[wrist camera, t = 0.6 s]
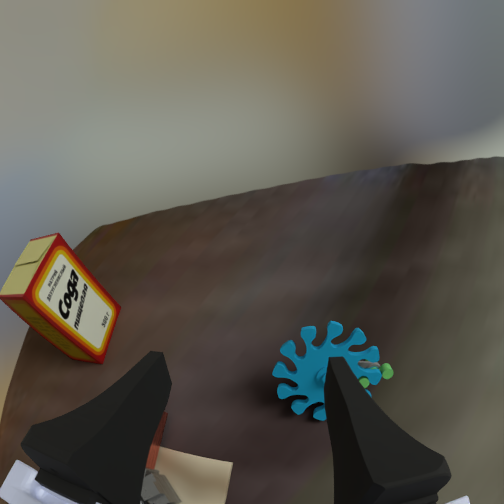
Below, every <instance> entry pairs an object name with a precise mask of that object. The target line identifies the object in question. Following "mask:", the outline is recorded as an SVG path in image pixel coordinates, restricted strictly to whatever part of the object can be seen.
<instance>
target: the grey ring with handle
mask: <svg viewBox="0 0 504 504" xmlns="http://www.w3.org/2000/svg"><path fill="white" fill-rule="evenodd" d="M167 415H168V413H166V412H164V413H163V415H162V418H161V420H160V423H159V425H158V428H157V430H156V433H155V436H154V438H153V441H152V444H151V447H150V451H149V455H148V459H147V464H146V468H145V473H144V478H143V485H142V491H141V496H142V498H143V500H144V501H149V502H150V504H178V503H180V502H182V501H181V500H180V498H179V497H178V495H177V494H176V492H175V491H174V489H173V487H172V486H171V484H170V483H169V481H168V479H167V478H166V476H165V475H161V474H159V471H158V470H155V464H156V460H157V456H158V452H159V448H160V443H161V439H162V435H163V431H164V427H165V423H166V419H167Z"/></svg>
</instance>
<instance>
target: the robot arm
mask: <svg viewBox="0 0 504 504" xmlns="http://www.w3.org/2000/svg"><path fill="white" fill-rule="evenodd" d="M171 385H172V382H171V379H170V375H169V372H168V369H167V365H166V362H165V358H164V355H163V352H155V351H150V352H149V353H148V354H147V355H146V356H145V357H144V358H142V359H141V360H140V361H139V362H138V363H137V364H136V365H135V366H134V367H133V368H132V369H131V370H129V371H128V372H127V373H126V374H125V375H124V376H123V377H122V378H120V379H119V380H118V381H117V382H115V383H114V384H113V385H112V386H111V387H109V388H108V389H107V390H106V391H104V392H103V393H101V394H100V395H99V396H97V397H96V398H94V399H92V400H91V401H89V402H88V403H86V404H84V405H82V406H80V407H79V408H77V409H75V410H73V411H71V412H69V413H67V414H64V415H62V416H60V417H57V418H54V419H52V420H49V421H45V422H42V423H39V424H35V425H32V426H31V428H30V430H29V431H28V433H27V434H26V436H25V437H24V439H23V441H22V442H21V447H22V449H23V450H24V452H25V453H26V454H27V455H28V456H29V457H30V458H31V459H32V460H33V461H34V462H35V463H36V464H37V465H38V466H39V467H40V470H39V472H37V471H36V470H35V469H33V468H31V467H30V466H28V465H26V464H24V463H23V462H21V461H19V460H16V462H15V463H14V465H13V467H12V469H11V470H10V472H9V474H8V476H7V478H6V479H5V481H4V483H3V485H2V487H1V489H0V497H1V498H2V499H4V500H5V501H6V502H8V503H9V504H140V499H141V491H142V485H143V478H144V473H145V468H146V464H147V459H148V455H149V451H150V447H151V444H152V441H153V438H154V436H155V433H156V430H157V428H158V425H159V423H160V420H161V418H162V415H163V413H164V410H165V407H166V405H167V402H168V398H169V394H170V390H171ZM324 404H325V413H326V418H327V424H328V429H329V435H330V440H331V446H332V453H333V465H334V504H436V502H437V501H438V495H437V492H438V491H439V490H440V489H441V488H443V487H444V486H445V485H446V484H447V483H448V481H449V480H450V478H451V472H450V469H449V466H448V464H447V462H446V460H445V458H444V456H442V455H440V454H439V453H437V452H435V451H433V450H431V449H429V448H428V447H426V446H424V445H423V444H421V443H420V442H418V441H417V440H415V439H414V438H413V437H411V436H410V435H409V434H408V433H406V432H405V431H404V430H402V429H401V428H400V427H399V426H398V425H397V424H396V423H394V422H393V421H392V420H391V419H390V418H389V417H388V416H387V415H386V414H385V413H384V412H383V411H382V409H381V408H380V407H379V406H378V405H377V404H376V403H375V401H374V400H373V399H372V398H371V397H370V395H369V394H368V393H367V391H366V390H365V389H364V387H363V386H362V384H361V383H360V382H359V380H358V379H357V377H356V376H355V374H354V373H353V371H352V370H351V368H350V366H349V365H348V363H347V361H346V359H345V358H344V357H343V356H341V357H329V359H328V365H327V372H326V378H325V384H324ZM445 504H470V502H469V498H468V496H464V497H461V498H459V499H456V500H453V501H451V502H448V503H445Z"/></svg>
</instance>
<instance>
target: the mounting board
mask: <svg viewBox="0 0 504 504" xmlns="http://www.w3.org/2000/svg"><path fill="white" fill-rule="evenodd" d="M232 465H233V463H231V462H225V461H219V460H214V459H209V458H204V457H200V456H195V455H191V454H186V453H182V452H178V451H174V450H171V449H167V448H163V447H160V448H159V452H158V456H157V460H156V464H155V470H158V471H159V474H161V475H165V476H166V478H167V479H168V481H169V483H170V484H171V486H172V487H173V489H174V491H175V492H176V494H177V495H178V497H179V498H180V500H181V501H182V502H180V503H178V504H225V501H226V496H227V491H228V486H229V481H230V475H231V470H232Z"/></svg>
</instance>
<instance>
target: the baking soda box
mask: <svg viewBox="0 0 504 504" xmlns="http://www.w3.org/2000/svg"><path fill="white" fill-rule="evenodd" d="M0 299H1V300H2V301H3V302H4V303H5V304H6V305H7V306H8V307H9V308H10V309H11V310H12V311H13V312H15V313H16V314H17V315H18V316H19V317H20V318H21V319H22V320H23V321H25V322H26V323H27V324H28V325H29V326H30V327H32V328H33V329H34V330H35V331H36V332H38V333H39V334H40V335H41V336H42V337H44V338H45V339H46V340H47V341H49V342H50V343H51V344H53V345H54V346H55V347H56V348H58V349H59V350H60V351H62V352H63V353H64V354H66V355H67V356H68V357H70V358H71V359H73V360H79V361H85V362H91V363H98V364H103V362H104V358H105V355H106V352H107V348H108V345H109V342H110V339H111V336H112V333H113V330H114V327H115V324H116V321H117V318H118V315H119V312H120V309H121V306H120V305H119V304H118V303H117V302H116V301H115V300H114V299H113V298H112V297H111V295H110V294H109V293H108V292H107V291H106V290H105V289H104V288H103V286H102V285H101V284H100V283H99V282H98V281H97V280H96V278H95V277H94V276H93V275H92V274H91V273H90V271H89V270H88V269H87V268H86V267H85V265H84V264H83V263H82V262H81V260H80V259H79V258H78V257H77V255H76V254H75V253H74V252H73V250H72V249H71V248H70V247H69V246H68V244H67V243H66V242H65V240H64V239H63V238H62V236H61V235H60V234H59V233H55V234H51V235H48V236H43V237H39V238H36V239H31V240H30V242H29V243H28V245H27V246H26V248H25V249H24V251H23V253H22V254H21V256H20V257H19V259H18V261H17V262H16V264H15V266H14V268H13V270H12V272H11V273H10V275H9V277H8V279H7V281H6V282H5V284H4V286H3V288H2V290H1V292H0Z"/></svg>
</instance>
